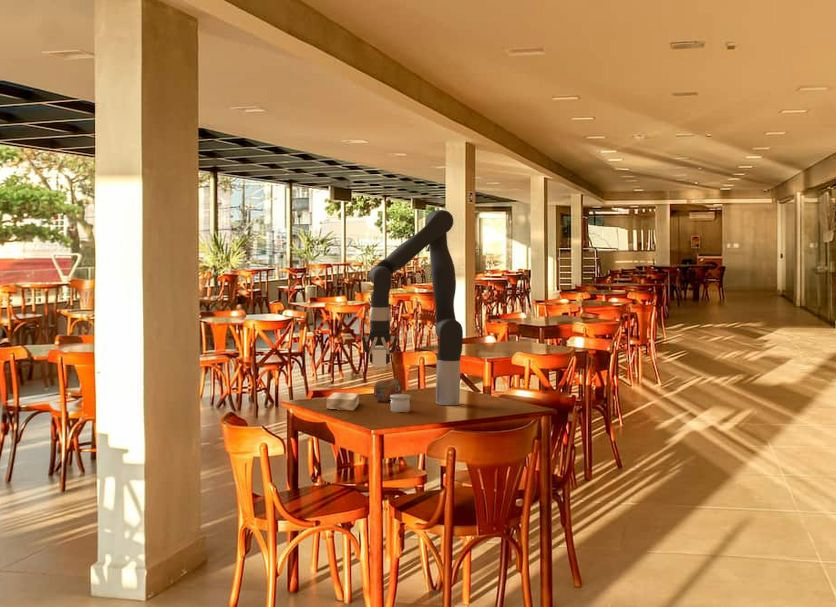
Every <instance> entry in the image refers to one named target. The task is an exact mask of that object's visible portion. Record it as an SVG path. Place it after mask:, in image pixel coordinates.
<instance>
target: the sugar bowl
mask: <svg viewBox="0 0 836 607" xmlns="http://www.w3.org/2000/svg"><path fill="white" fill-rule="evenodd" d="M390 398H391V401H390V410H391V411H393V412H392V413H397V412H405V413H409V412H410V404H411V400H410V399H411V395H410V394H403V393H401V394H392V395H390ZM391 411H390V412H391Z"/></svg>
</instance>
